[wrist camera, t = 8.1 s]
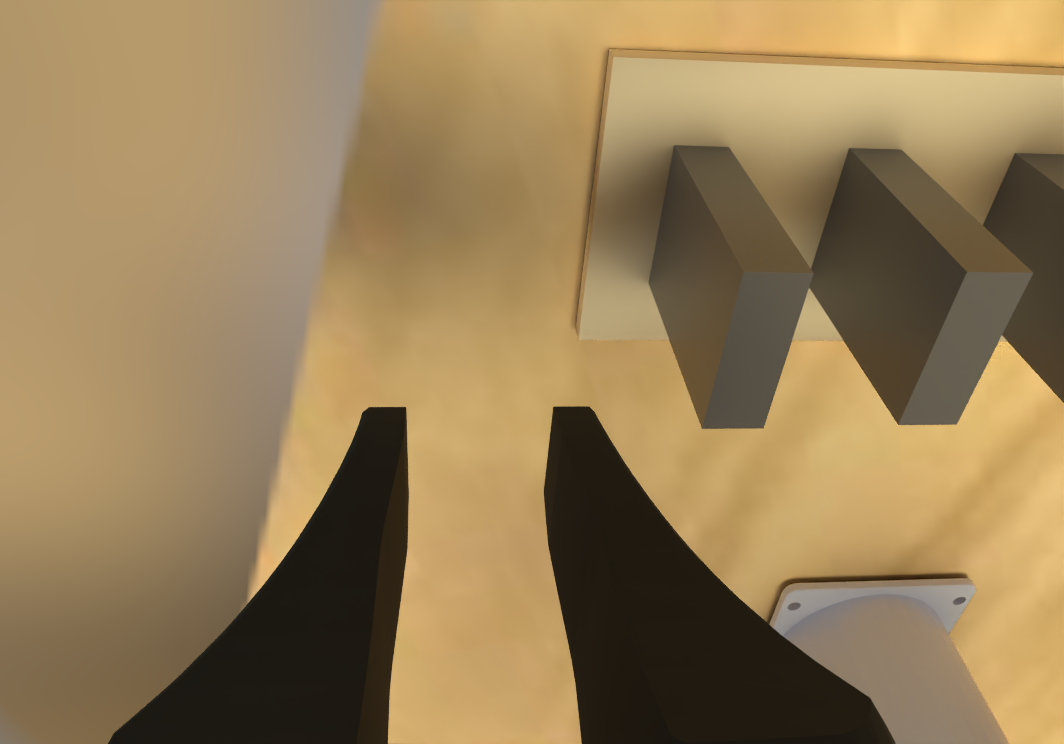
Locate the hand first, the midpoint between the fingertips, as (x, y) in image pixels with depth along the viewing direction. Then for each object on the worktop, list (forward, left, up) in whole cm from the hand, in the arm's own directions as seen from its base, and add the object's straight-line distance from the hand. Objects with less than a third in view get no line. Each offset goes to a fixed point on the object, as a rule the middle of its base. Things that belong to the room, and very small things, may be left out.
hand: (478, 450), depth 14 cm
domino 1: (0, -6, -9) cm, 11 cm away
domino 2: (0, -10, -9) cm, 14 cm away
